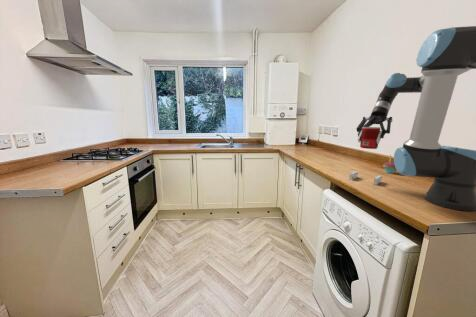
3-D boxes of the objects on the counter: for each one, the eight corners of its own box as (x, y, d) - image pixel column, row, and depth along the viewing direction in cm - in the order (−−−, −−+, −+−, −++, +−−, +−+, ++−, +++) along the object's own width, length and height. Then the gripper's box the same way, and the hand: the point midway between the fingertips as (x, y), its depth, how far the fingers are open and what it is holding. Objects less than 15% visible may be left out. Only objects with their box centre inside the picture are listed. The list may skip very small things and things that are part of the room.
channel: (354, 176, 122) (355, 171, 121) (381, 181, 112) (381, 175, 112) (349, 179, 116) (349, 173, 115) (376, 185, 106) (377, 178, 106)
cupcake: (378, 171, 137) (381, 153, 135) (390, 170, 138) (393, 153, 136) (389, 174, 129) (392, 155, 126) (401, 174, 129) (404, 155, 127)
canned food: (379, 149, 103) (383, 127, 101) (362, 148, 106) (365, 127, 104) (374, 147, 111) (377, 127, 109) (358, 146, 113) (360, 126, 111)
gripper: (404, 115, 108) (392, 148, 100) (360, 116, 123) (347, 144, 115) (403, 105, 104) (391, 138, 96) (358, 106, 119) (345, 135, 111)
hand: (367, 141), depth 106 cm, fingers closed on canned food, 8 cm apart
